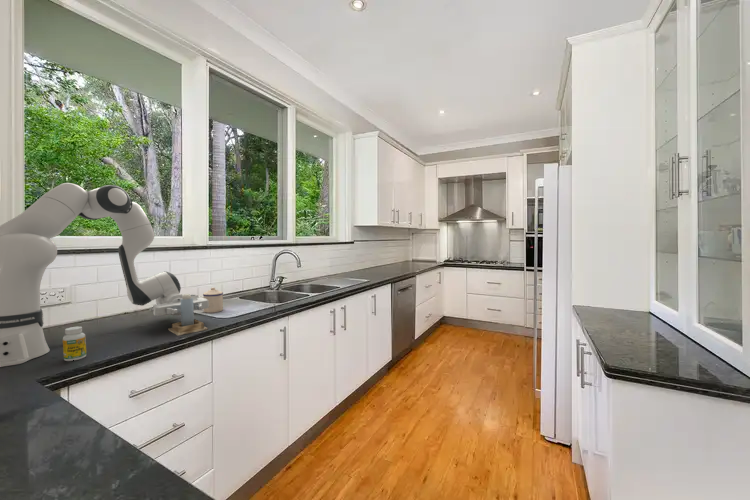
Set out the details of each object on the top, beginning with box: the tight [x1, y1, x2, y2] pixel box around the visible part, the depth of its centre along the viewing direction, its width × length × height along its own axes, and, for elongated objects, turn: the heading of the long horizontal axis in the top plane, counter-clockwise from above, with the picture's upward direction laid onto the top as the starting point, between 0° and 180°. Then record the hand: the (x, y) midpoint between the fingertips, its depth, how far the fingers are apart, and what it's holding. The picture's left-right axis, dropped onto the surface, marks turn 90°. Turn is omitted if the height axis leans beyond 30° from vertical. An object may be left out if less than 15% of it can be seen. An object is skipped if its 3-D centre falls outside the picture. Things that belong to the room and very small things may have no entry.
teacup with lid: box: [202, 286, 224, 314], centre depth 168 cm, size 12×9×12 cm
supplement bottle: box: [62, 326, 87, 362], centre depth 106 cm, size 5×5×10 cm
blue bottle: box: [180, 293, 195, 327], centre depth 136 cm, size 4×4×14 cm
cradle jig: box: [168, 318, 208, 336], centre depth 136 cm, size 11×11×3 cm
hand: (188, 309), depth 135 cm, fingers open, 8 cm apart
